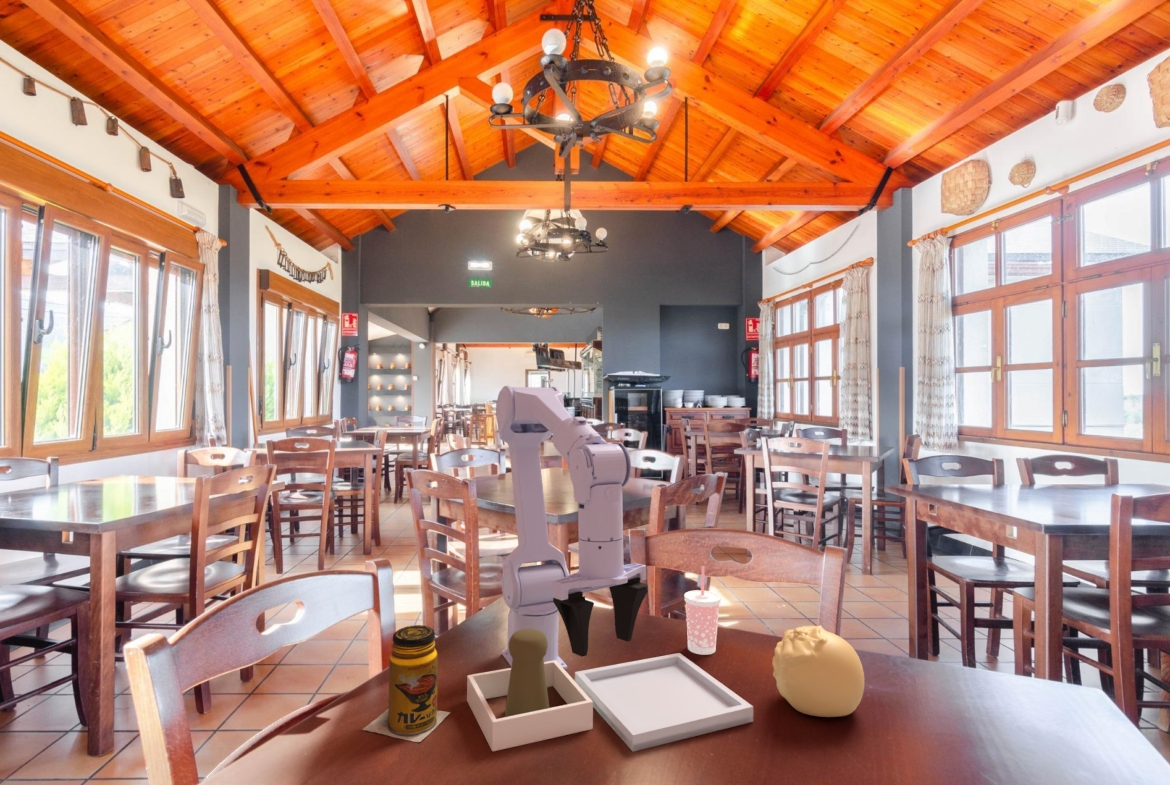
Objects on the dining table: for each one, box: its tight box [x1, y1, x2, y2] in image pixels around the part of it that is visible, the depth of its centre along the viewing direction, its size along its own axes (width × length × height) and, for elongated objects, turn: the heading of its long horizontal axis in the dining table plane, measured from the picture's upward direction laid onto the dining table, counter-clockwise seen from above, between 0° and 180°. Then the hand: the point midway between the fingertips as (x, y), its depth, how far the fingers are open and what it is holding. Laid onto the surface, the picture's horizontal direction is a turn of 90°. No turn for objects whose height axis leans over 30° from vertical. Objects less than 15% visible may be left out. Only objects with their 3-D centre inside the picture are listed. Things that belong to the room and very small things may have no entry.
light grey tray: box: [574, 652, 754, 752], centre depth 87 cm, size 18×18×2 cm
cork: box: [504, 629, 550, 717], centre depth 83 cm, size 6×6×11 cm
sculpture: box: [771, 625, 865, 718], centre depth 87 cm, size 12×12×11 cm
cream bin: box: [466, 660, 594, 753], centre depth 83 cm, size 13×13×4 cm
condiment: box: [362, 624, 451, 743], centre depth 81 cm, size 7×8×12 cm
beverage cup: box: [683, 565, 722, 656], centre depth 105 cm, size 6×6×14 cm
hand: (602, 646), depth 79 cm, fingers open, 7 cm apart
